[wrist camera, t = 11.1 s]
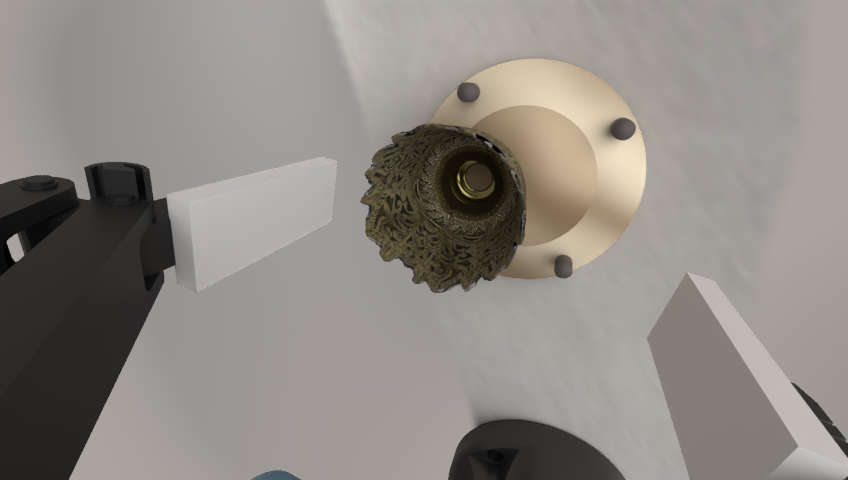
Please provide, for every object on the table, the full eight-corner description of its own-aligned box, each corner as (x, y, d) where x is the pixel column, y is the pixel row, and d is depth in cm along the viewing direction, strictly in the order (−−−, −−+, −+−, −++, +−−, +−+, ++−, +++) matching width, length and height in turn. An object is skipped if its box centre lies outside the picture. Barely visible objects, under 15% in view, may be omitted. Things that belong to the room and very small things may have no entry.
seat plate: (587, 295, 24) (589, 318, 22) (411, 233, 27) (396, 246, 25) (688, 88, 18) (705, 88, 16) (449, 40, 22) (434, 34, 19)
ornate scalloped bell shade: (402, 182, 24) (333, 220, 17) (468, 85, 21) (414, 83, 14) (487, 255, 24) (451, 322, 17) (571, 169, 20) (568, 211, 13)
